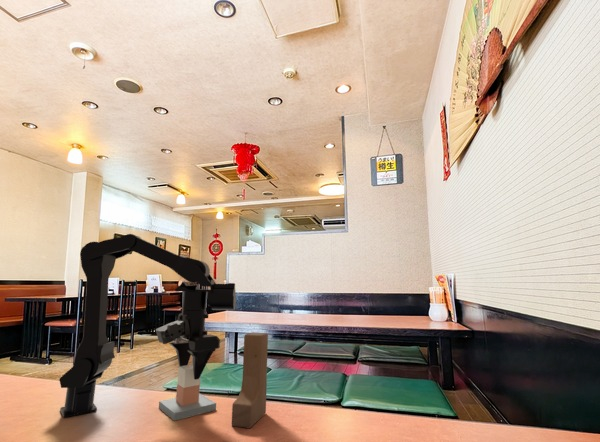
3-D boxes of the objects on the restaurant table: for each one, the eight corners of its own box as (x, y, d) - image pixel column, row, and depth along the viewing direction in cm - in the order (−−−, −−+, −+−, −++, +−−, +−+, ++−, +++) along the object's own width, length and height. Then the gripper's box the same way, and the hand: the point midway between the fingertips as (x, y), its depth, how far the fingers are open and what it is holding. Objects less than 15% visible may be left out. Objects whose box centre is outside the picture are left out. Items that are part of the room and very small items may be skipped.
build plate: (158, 407, 79) (159, 401, 79) (197, 398, 86) (198, 392, 86) (174, 420, 72) (174, 413, 72) (215, 409, 78) (216, 403, 79)
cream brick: (177, 384, 80) (178, 366, 81) (192, 381, 83) (194, 364, 83) (184, 387, 77) (185, 369, 78) (200, 384, 80) (201, 367, 80)
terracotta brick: (175, 401, 79) (177, 383, 80) (191, 397, 82) (192, 380, 83) (182, 406, 76) (183, 387, 77) (198, 402, 79) (199, 384, 80)
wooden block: (250, 429, 68) (253, 338, 71) (230, 426, 69) (234, 337, 73) (266, 413, 76) (268, 332, 80) (248, 411, 78) (251, 332, 81)
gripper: (149, 308, 85) (142, 373, 82) (176, 313, 71) (170, 391, 68) (190, 307, 92) (186, 366, 89) (222, 311, 78) (218, 381, 75)
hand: (189, 375), depth 80 cm, fingers open, 8 cm apart
